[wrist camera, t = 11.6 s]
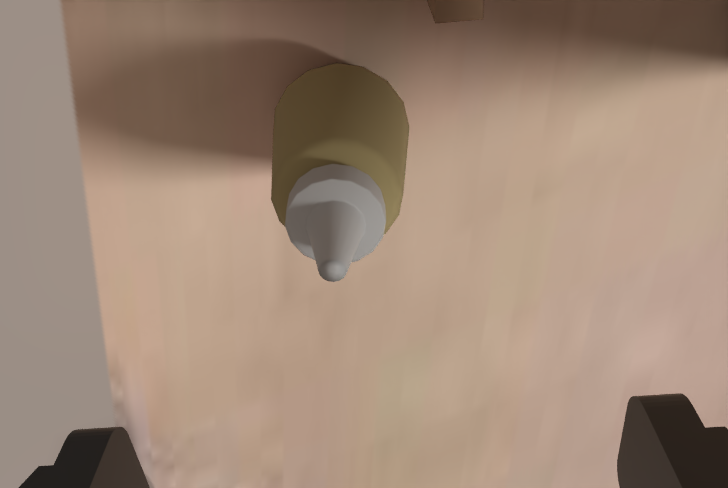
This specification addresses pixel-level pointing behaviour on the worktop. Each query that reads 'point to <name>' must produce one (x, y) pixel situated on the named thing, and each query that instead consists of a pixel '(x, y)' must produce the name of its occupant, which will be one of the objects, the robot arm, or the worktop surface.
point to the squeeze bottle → (338, 164)
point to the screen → (456, 10)
